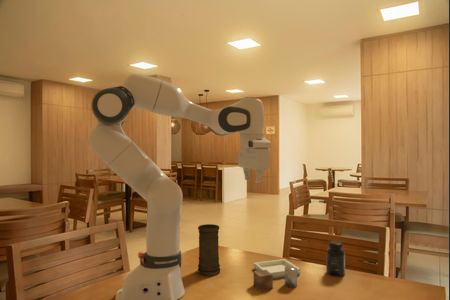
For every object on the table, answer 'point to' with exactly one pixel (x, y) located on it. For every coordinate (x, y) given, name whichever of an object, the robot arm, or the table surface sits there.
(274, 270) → the tray
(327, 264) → the supplement bottle
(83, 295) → the table surface
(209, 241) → the container
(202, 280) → the table surface
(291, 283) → the metal cylinder
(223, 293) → the table surface
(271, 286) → the walnut block
